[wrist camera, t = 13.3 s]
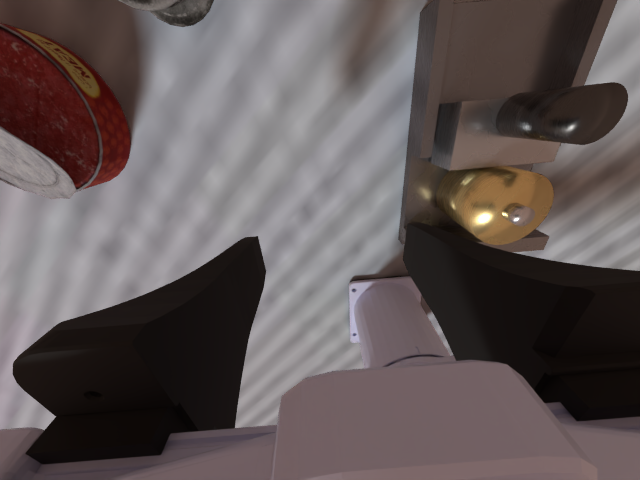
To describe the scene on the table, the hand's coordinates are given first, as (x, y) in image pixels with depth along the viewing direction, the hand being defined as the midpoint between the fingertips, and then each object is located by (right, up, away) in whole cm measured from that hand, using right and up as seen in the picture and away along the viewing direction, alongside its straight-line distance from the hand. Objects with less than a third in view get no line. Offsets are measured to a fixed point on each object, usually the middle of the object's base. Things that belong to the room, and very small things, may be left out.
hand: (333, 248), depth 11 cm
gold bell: (+12, +5, +8) cm, 15 cm away
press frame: (+11, +7, +8) cm, 16 cm away
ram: (+11, +9, +6) cm, 15 cm away
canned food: (-20, +9, +6) cm, 23 cm away
